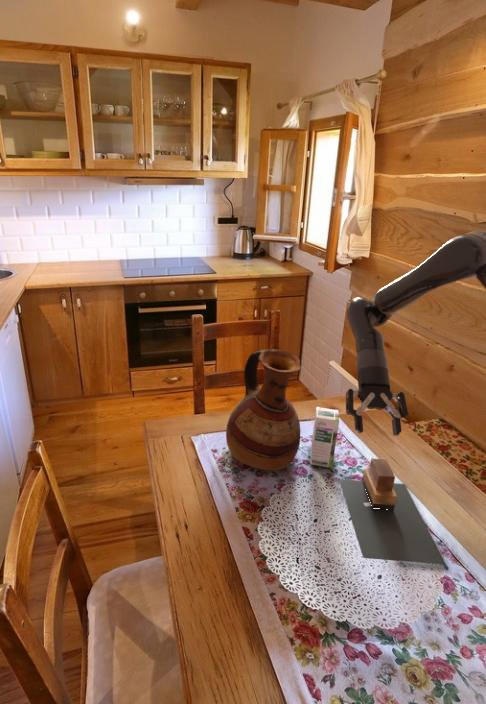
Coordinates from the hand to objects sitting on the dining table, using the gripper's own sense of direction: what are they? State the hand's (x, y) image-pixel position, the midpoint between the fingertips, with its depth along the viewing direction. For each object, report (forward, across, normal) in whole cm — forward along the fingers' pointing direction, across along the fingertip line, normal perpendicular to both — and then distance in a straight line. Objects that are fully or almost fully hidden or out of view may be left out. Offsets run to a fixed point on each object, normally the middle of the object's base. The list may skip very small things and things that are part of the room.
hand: (378, 433), depth 98 cm
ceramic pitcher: (+4, -27, +15) cm, 31 cm away
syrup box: (+5, -11, +14) cm, 19 cm away
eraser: (+13, 0, +5) cm, 14 cm away
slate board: (+19, 0, +1) cm, 19 cm away
